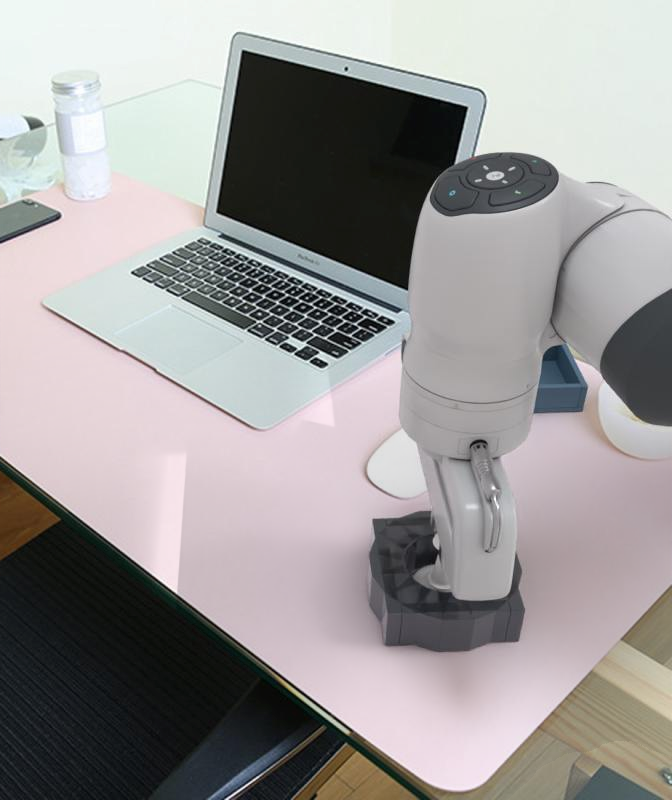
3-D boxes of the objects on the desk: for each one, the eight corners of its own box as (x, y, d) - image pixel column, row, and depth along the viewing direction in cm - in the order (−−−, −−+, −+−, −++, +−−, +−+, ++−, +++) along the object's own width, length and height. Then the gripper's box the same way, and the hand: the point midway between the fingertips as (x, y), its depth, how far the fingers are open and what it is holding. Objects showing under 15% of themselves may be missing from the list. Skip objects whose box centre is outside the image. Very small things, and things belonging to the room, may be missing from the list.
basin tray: (558, 361, 100) (563, 337, 98) (582, 411, 93) (588, 386, 91) (476, 363, 100) (479, 339, 98) (494, 414, 93) (498, 389, 91)
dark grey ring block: (497, 538, 79) (502, 507, 77) (530, 648, 70) (537, 617, 68) (360, 543, 79) (362, 512, 77) (376, 654, 70) (379, 622, 68)
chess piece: (465, 624, 72) (480, 528, 66) (402, 607, 74) (411, 512, 68) (477, 578, 76) (493, 484, 70) (417, 563, 77) (427, 469, 71)
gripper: (555, 504, 55) (521, 657, 63) (482, 318, 72) (463, 459, 80) (446, 507, 55) (427, 660, 63) (398, 320, 72) (388, 461, 80)
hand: (447, 546), depth 72 cm, fingers closed on chess piece
